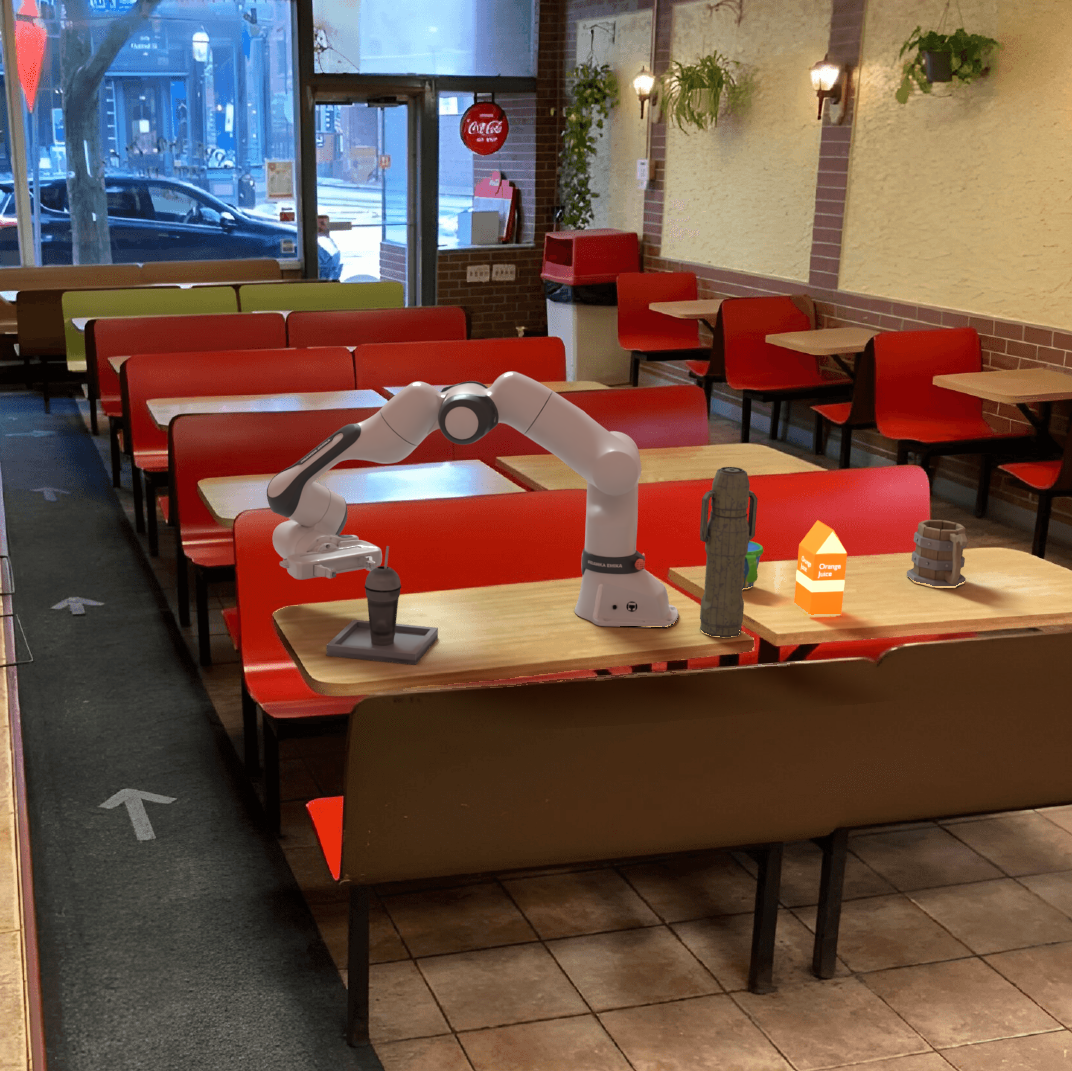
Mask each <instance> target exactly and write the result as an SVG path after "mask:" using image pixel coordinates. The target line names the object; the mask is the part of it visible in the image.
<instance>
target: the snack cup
mask: <svg viewBox="0 0 1072 1071" xmlns="http://www.w3.org/2000/svg"><path fill="white" fill-rule="evenodd" d="M763 554H764V547H763V545H761V544H760V543H758V542H755V541H752V540H750V541H749V543H748V552H747V554H746V556H745V562H744V575H743V588H748V587H751V586H753V587H754V585H755V582H756V581H757V580H758V576H759V574H758V568H759V564H760V558H761V557H762V555H763Z"/></svg>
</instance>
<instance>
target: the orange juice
mask: <svg viewBox="0 0 1072 1071" xmlns="http://www.w3.org/2000/svg"><path fill="white" fill-rule="evenodd" d="M797 554H798V555H797V567H796V573H795V574H796V575H795V588H794V600H793V604H794V603H796V604H797V605H798V606H800V607H801V608H802V609H804V610H805V611H806V612H808V614H811V615H814V614H841V615H842V610H843V602H844V600H843V599H844V591H845V582H846V580H845V579H846V570H847V561H848V560H847V559H848V552H847V550H846V549H845V547H844V546H843V544H842V542H841V541H840V538H839V536H838V534H836V532H835V530H834V529H833V528H831V527H830V526H828V525H826V524H825V523H823V522H822V521H820V520H818V519H817V520H816V522H815V523H814V524H813V526H812V527H811V528H810V530H809V531H808V532H807V533H806V534H805V537H804V538H803V539H802V540H801V542H800V543H799V544H798V553H797Z"/></svg>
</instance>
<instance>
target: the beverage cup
mask: <svg viewBox="0 0 1072 1071" xmlns="http://www.w3.org/2000/svg"><path fill="white" fill-rule="evenodd" d="M385 548H386V549H385V555H384V556H385V557H384V565H380V566H376V568H374V569H373V570H372V571H369V572H368V574H367V576H366V579H365V584H364V588H365V591H364V592H365V597H366V598H367V601H366V602H367V610H368V621H369V626H370V635H371V643H372V644H374V645H379V646H385V645H391V644H393V643H394V636H395V628H396V624H397V618H398V617H397V616H398V607H399V606H398V605H399V598H400V595H401V589H402V584H401V579H400V576H399V574H398V573H397V572H396V570H394V569H393V568H392V567H390V566H388V561H389V560H388V559H389V551H390V546H389V545H386V547H385Z"/></svg>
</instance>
